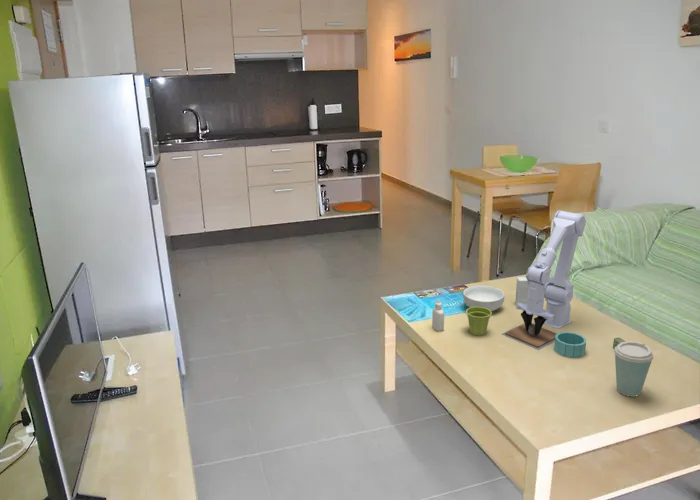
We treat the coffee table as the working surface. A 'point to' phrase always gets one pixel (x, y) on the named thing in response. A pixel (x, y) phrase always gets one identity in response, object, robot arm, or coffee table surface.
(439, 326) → the eye dropper bottle
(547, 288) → the robot arm
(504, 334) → the rubber mat
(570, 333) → the teal bowl
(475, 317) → the plant pot
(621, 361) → the disposable coffee cup
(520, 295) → the skincare box
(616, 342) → the medication box
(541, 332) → the walnut lid
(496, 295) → the cereal bowl
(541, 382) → the coffee table surface
